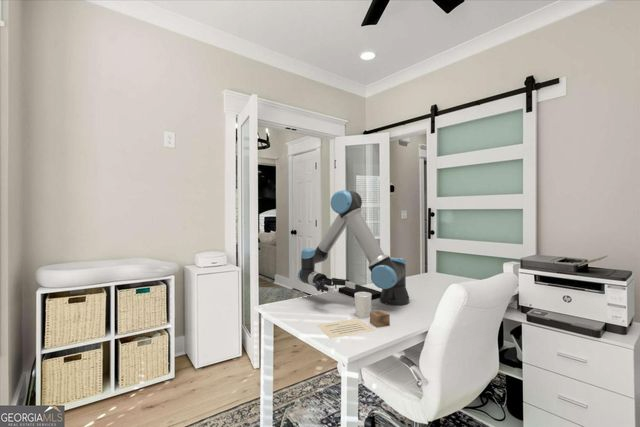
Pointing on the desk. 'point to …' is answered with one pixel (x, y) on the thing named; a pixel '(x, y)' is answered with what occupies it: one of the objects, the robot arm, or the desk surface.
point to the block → (379, 318)
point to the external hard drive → (359, 288)
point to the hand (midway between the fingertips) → (344, 288)
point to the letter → (345, 328)
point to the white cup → (363, 304)
